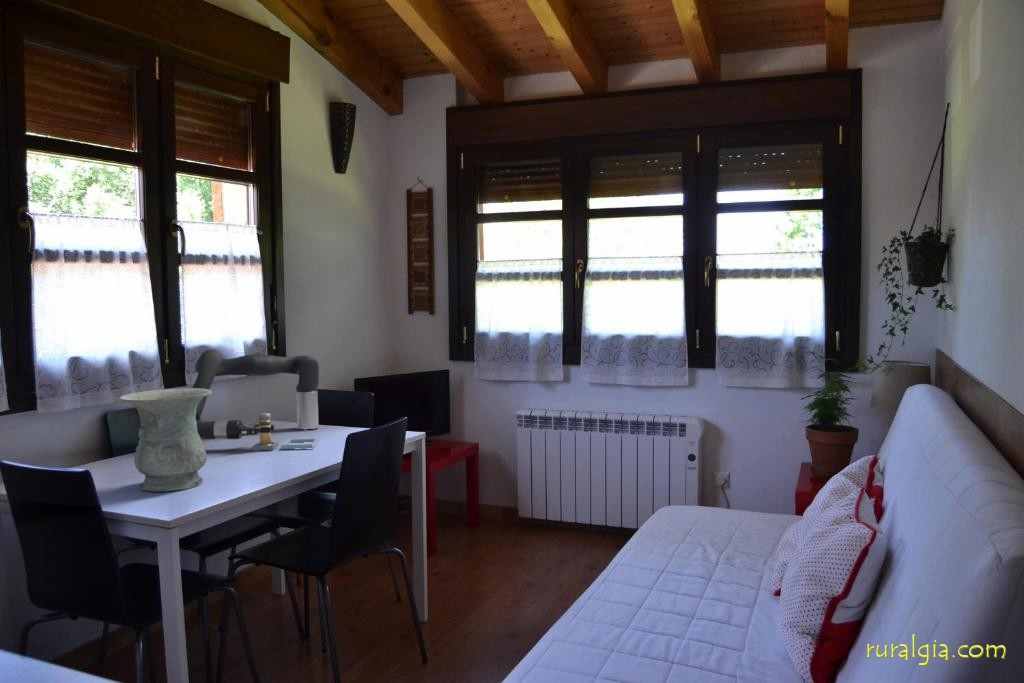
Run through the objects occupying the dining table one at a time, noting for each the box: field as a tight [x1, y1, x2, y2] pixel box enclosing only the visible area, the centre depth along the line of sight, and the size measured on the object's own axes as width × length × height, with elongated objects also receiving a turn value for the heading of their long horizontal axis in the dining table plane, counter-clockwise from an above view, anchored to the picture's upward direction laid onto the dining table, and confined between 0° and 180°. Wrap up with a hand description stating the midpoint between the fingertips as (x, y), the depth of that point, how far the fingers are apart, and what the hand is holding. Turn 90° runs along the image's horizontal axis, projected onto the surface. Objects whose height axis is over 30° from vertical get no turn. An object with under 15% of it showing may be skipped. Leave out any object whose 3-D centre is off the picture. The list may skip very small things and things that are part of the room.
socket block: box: [251, 441, 280, 452], centre depth 300 cm, size 8×8×2 cm
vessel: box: [119, 387, 213, 493], centre depth 244 cm, size 27×27×30 cm
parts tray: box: [281, 437, 320, 450], centre depth 303 cm, size 12×12×2 cm
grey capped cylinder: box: [258, 412, 272, 446], centre depth 300 cm, size 5×5×14 cm
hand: (272, 428), depth 300 cm, fingers closed on grey capped cylinder, 4 cm apart
